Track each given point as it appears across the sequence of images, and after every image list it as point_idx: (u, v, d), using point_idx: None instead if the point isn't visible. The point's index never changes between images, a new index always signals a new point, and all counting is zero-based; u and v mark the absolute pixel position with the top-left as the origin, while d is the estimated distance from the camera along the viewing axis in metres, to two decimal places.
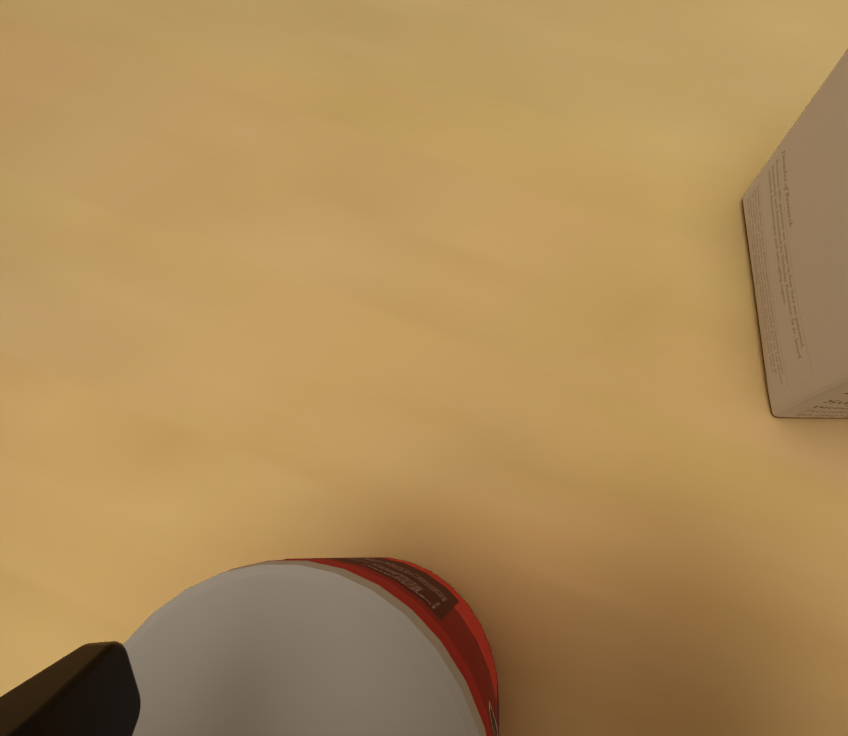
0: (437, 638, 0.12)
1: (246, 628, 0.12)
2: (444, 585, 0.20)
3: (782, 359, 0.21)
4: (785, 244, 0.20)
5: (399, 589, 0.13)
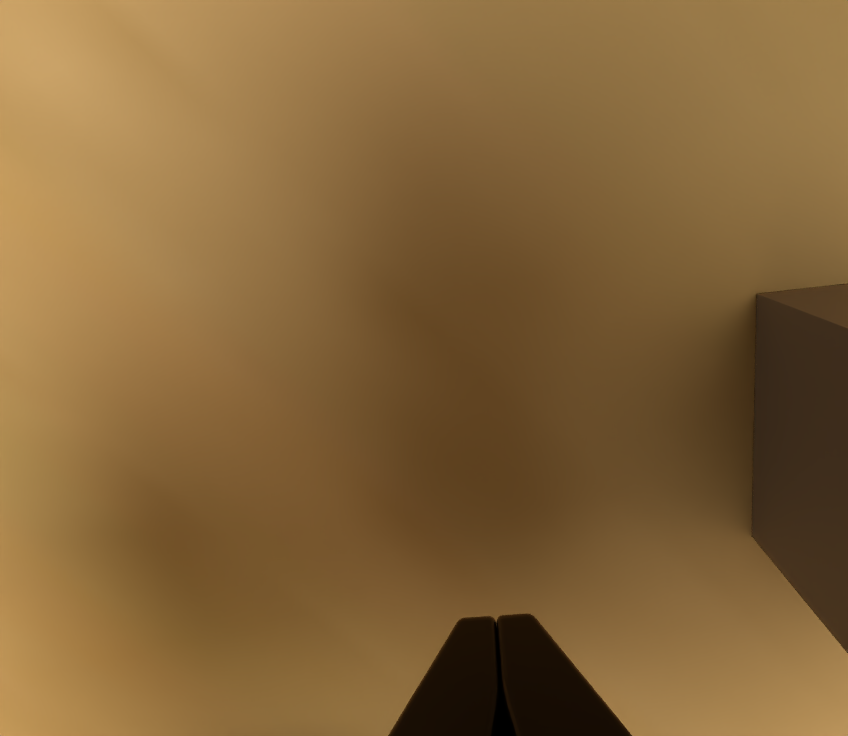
0: None
1: None
2: None
3: None
4: None
5: None
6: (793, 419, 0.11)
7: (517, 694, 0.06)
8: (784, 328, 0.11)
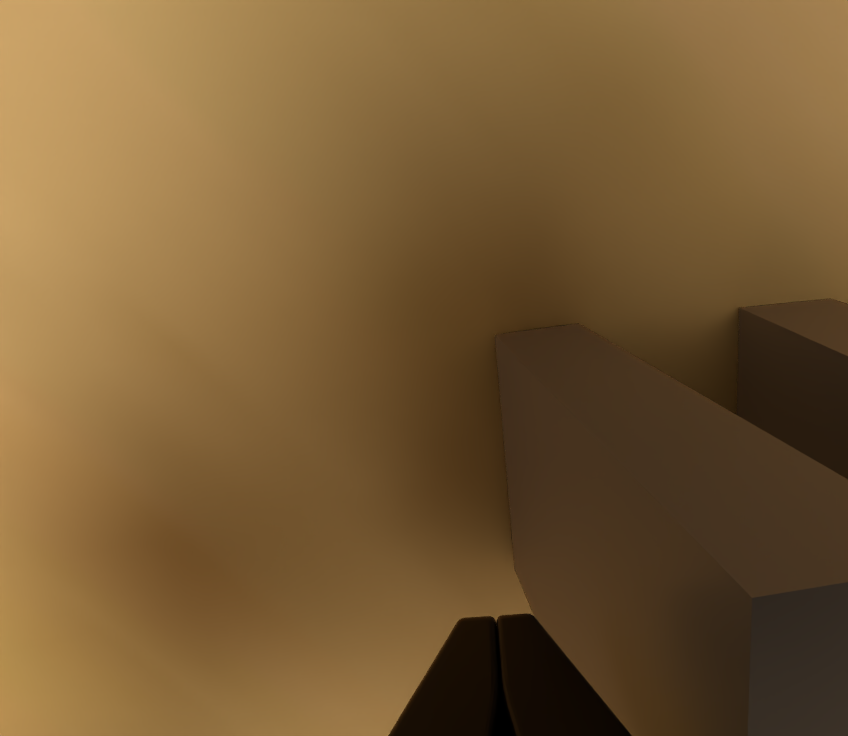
0: None
1: None
2: None
3: None
4: None
5: None
6: (521, 459, 0.11)
7: (517, 694, 0.06)
8: (509, 370, 0.11)
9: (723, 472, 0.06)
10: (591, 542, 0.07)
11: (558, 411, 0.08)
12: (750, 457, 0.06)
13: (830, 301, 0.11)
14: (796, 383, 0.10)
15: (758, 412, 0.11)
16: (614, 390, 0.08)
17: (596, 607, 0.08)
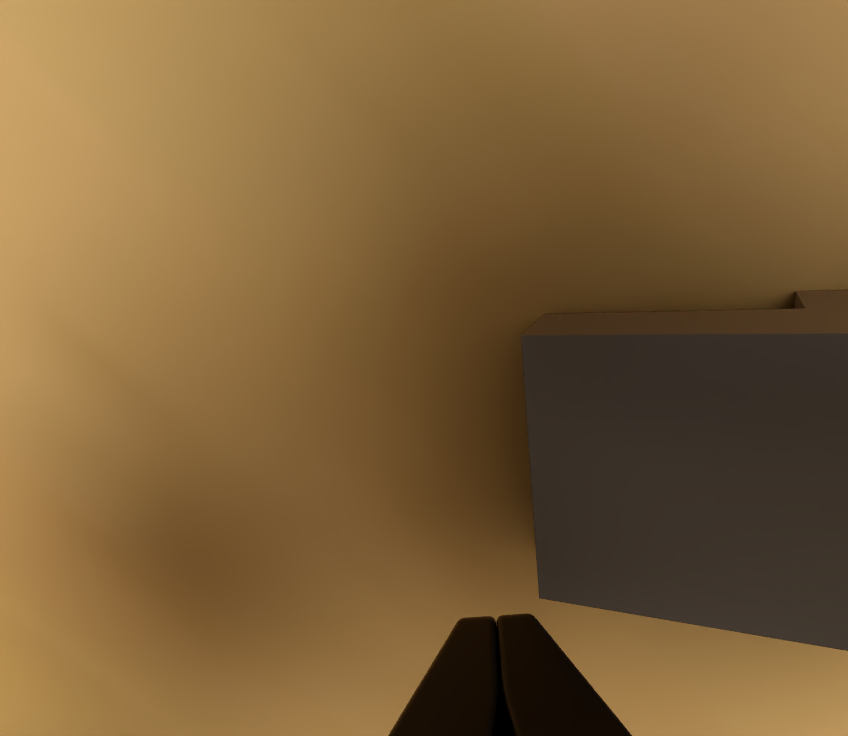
0: None
1: None
2: None
3: None
4: None
5: None
6: (617, 447, 0.10)
7: (517, 694, 0.06)
8: (587, 360, 0.10)
9: None
10: None
11: (796, 344, 0.09)
12: None
13: (811, 292, 0.11)
14: None
15: None
16: (789, 321, 0.09)
17: None
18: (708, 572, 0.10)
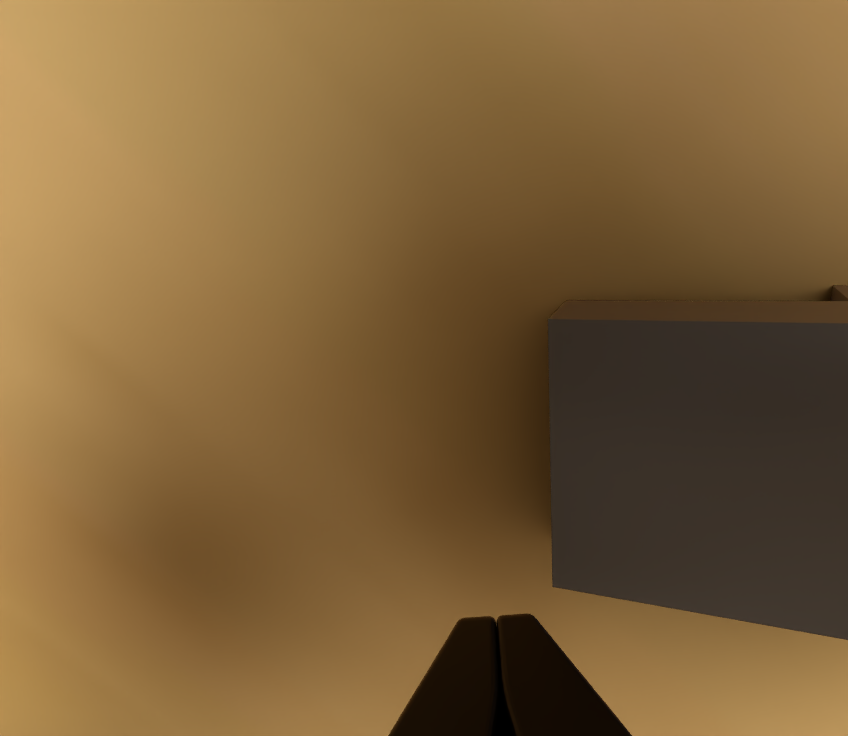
0: None
1: None
2: None
3: None
4: None
5: None
6: (641, 435, 0.10)
7: (517, 694, 0.06)
8: (615, 345, 0.10)
9: None
10: None
11: (830, 334, 0.09)
12: None
13: None
14: None
15: None
16: (819, 311, 0.09)
17: None
18: (727, 562, 0.10)
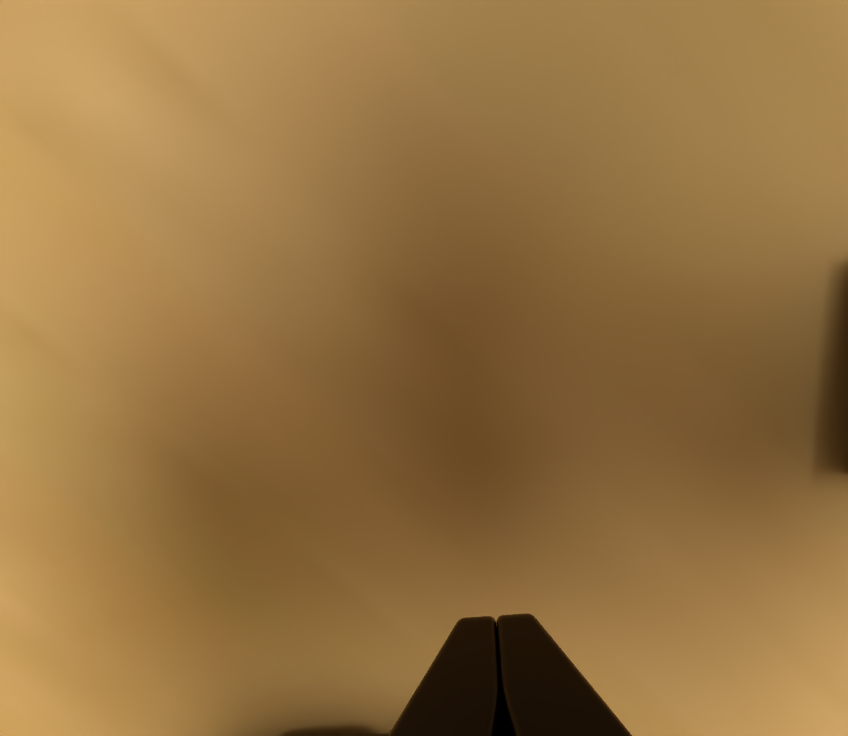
0: None
1: None
2: None
3: None
4: None
5: None
6: None
7: (517, 694, 0.06)
8: None
9: None
10: None
11: None
12: None
13: None
14: None
15: None
16: None
17: None
18: None
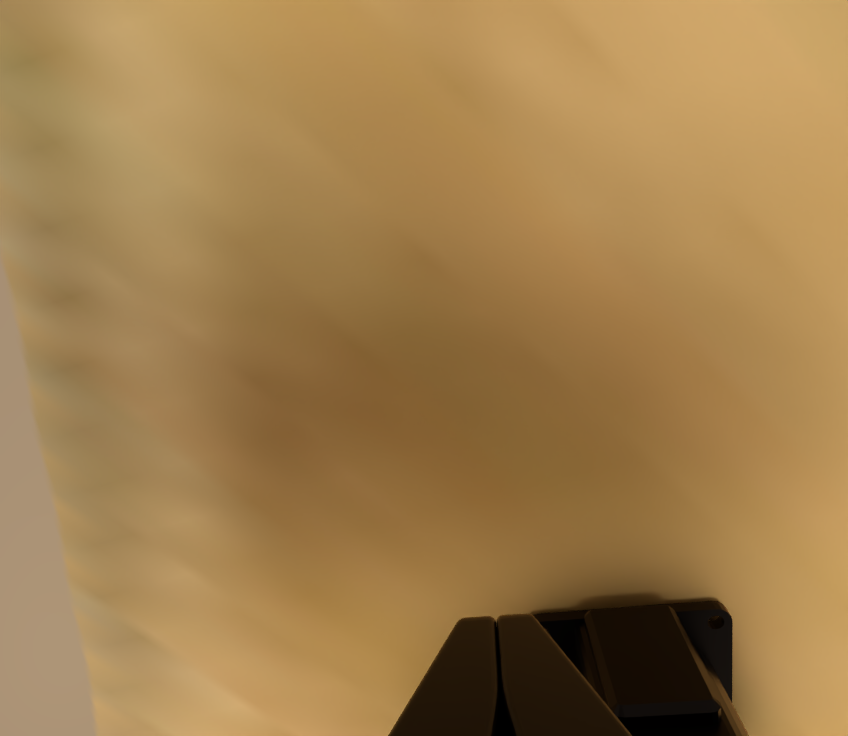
0: None
1: None
2: None
3: None
4: None
5: None
6: None
7: (517, 694, 0.06)
8: None
9: None
10: None
11: None
12: None
13: None
14: None
15: None
16: None
17: None
18: None
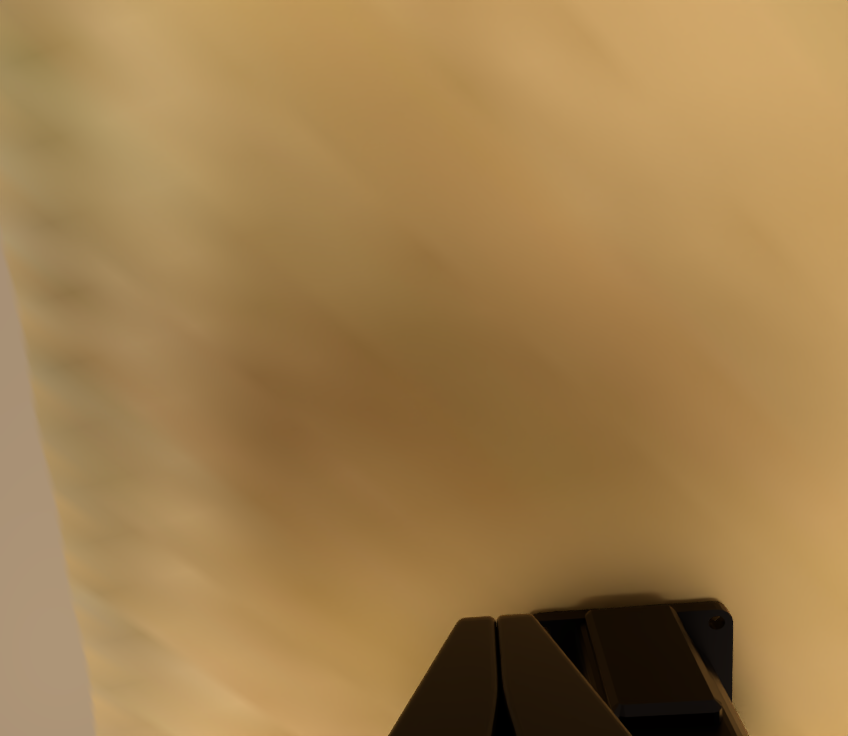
0: None
1: None
2: None
3: None
4: None
5: None
6: None
7: (517, 694, 0.06)
8: None
9: None
10: None
11: None
12: None
13: None
14: None
15: None
16: None
17: None
18: None
